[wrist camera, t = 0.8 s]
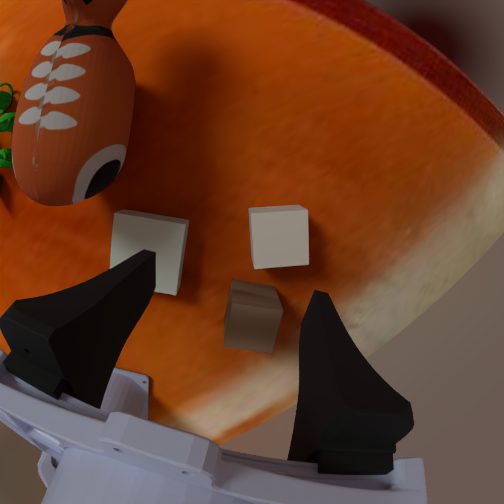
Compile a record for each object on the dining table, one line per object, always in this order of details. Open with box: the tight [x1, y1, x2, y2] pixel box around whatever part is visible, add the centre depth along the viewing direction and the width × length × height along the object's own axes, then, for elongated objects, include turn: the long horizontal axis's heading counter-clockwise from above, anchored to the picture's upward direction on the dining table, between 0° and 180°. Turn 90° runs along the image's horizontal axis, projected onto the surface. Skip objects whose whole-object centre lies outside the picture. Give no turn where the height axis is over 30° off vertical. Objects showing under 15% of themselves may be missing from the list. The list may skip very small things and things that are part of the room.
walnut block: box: [224, 279, 283, 353], centre depth 30 cm, size 4×4×6 cm
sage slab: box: [110, 209, 189, 295], centre depth 30 cm, size 7×7×3 cm
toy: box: [12, 0, 135, 206], centre depth 19 cm, size 10×23×15 cm, turn 171°
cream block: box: [248, 205, 309, 269], centre depth 30 cm, size 5×5×4 cm
